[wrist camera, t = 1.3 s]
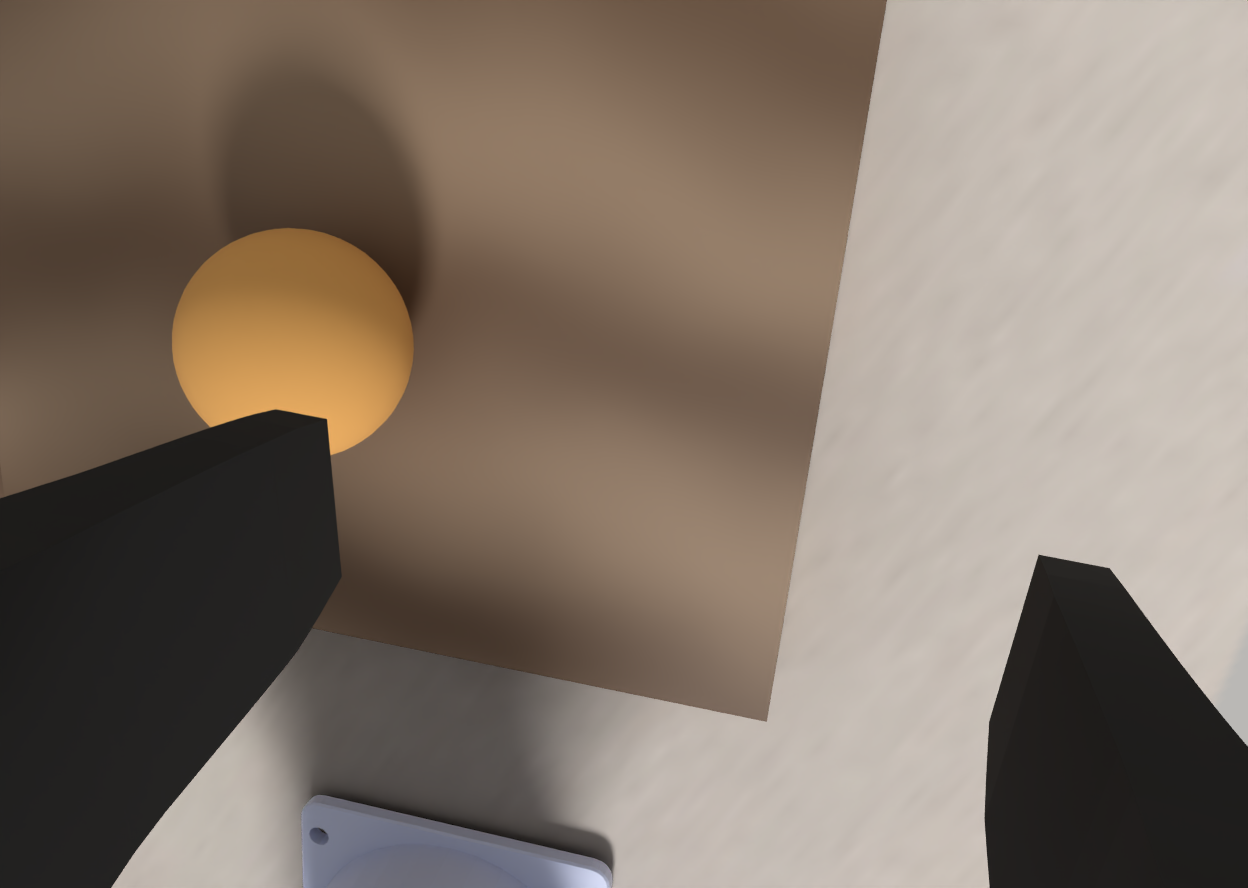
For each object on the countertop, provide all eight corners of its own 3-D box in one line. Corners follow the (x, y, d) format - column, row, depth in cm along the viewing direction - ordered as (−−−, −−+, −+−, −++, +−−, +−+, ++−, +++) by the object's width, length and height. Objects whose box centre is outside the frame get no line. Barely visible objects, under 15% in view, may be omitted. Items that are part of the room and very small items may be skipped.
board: (775, 668, 23) (766, 721, 22) (-229, 471, 28) (-307, 501, 26) (892, -33, 18) (893, -42, 16) (-360, -140, 23) (-468, -156, 21)
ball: (444, 433, 21) (351, 515, 17) (255, 401, 22) (129, 473, 18) (450, 227, 19) (352, 268, 16) (248, 200, 20) (109, 233, 16)
